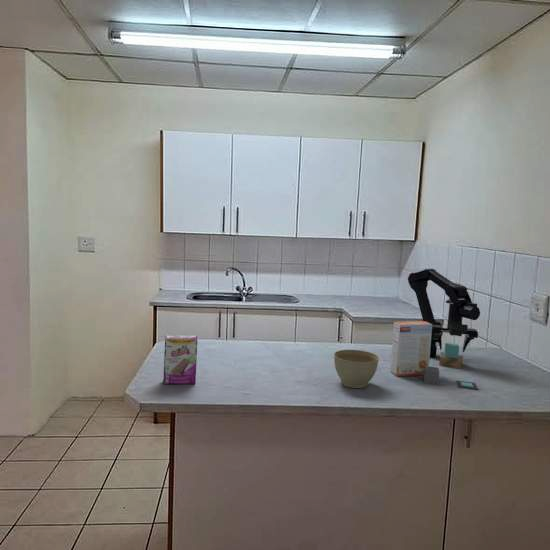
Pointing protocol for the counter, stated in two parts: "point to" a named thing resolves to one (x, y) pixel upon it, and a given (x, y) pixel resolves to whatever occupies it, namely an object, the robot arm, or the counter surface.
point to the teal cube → (451, 350)
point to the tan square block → (451, 361)
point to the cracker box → (410, 348)
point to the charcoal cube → (431, 375)
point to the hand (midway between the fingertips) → (451, 350)
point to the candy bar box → (180, 359)
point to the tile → (466, 385)
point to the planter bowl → (355, 367)
